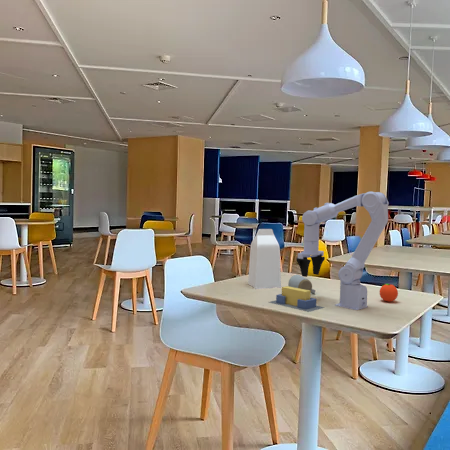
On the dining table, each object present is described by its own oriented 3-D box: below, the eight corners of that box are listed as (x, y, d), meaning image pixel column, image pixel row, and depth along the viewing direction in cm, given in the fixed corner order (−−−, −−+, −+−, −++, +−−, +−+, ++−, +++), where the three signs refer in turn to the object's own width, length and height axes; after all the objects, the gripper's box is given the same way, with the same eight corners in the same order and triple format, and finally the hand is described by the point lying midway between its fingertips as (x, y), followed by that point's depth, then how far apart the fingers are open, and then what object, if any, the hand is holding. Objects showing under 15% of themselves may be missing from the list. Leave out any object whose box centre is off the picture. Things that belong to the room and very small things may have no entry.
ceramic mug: (298, 296, 187) (299, 278, 187) (287, 292, 195) (288, 274, 194) (319, 295, 192) (320, 277, 191) (308, 291, 199) (309, 273, 199)
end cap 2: (316, 306, 169) (316, 298, 169) (305, 309, 165) (306, 301, 165) (307, 304, 172) (307, 297, 172) (297, 307, 167) (297, 299, 167)
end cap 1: (276, 302, 175) (276, 294, 174) (286, 300, 179) (286, 292, 179) (284, 304, 172) (284, 296, 172) (294, 302, 176) (294, 294, 176)
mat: (324, 308, 169) (324, 307, 168) (308, 312, 162) (308, 311, 162) (284, 299, 182) (284, 298, 182) (267, 302, 175) (267, 302, 175)
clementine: (373, 299, 185) (374, 282, 184) (387, 298, 187) (388, 281, 187) (387, 304, 177) (387, 285, 177) (401, 302, 180) (402, 284, 179)
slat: (310, 306, 169) (310, 290, 169) (304, 308, 167) (305, 291, 167) (286, 301, 177) (287, 286, 177) (281, 302, 175) (281, 287, 174)
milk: (255, 288, 202) (256, 230, 201) (248, 283, 213) (249, 228, 212) (281, 287, 205) (282, 230, 203) (272, 283, 216) (273, 228, 215)
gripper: (313, 239, 188) (312, 272, 189) (291, 241, 178) (290, 276, 178) (328, 240, 183) (327, 274, 183) (306, 242, 173) (305, 278, 173)
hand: (310, 275), depth 181 cm, fingers open, 7 cm apart
